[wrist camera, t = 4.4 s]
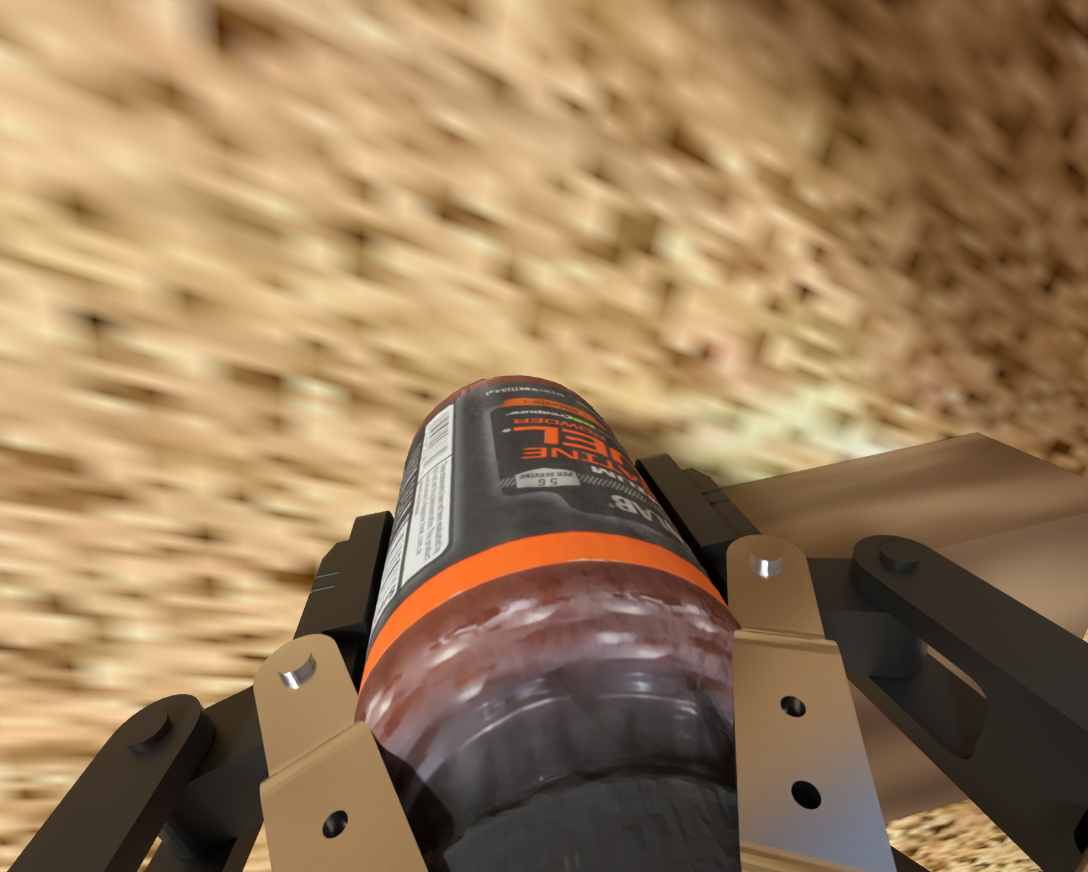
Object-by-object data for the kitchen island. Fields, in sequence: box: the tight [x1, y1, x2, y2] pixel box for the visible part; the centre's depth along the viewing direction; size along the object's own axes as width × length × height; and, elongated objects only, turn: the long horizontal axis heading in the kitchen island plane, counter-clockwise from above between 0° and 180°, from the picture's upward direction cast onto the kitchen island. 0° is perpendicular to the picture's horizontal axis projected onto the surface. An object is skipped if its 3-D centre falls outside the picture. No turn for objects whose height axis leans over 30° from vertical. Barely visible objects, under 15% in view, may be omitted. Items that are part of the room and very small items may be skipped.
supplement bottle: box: [354, 375, 742, 872], centre depth 10 cm, size 6×6×11 cm
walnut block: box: [720, 433, 1088, 823], centre depth 23 cm, size 16×14×6 cm
